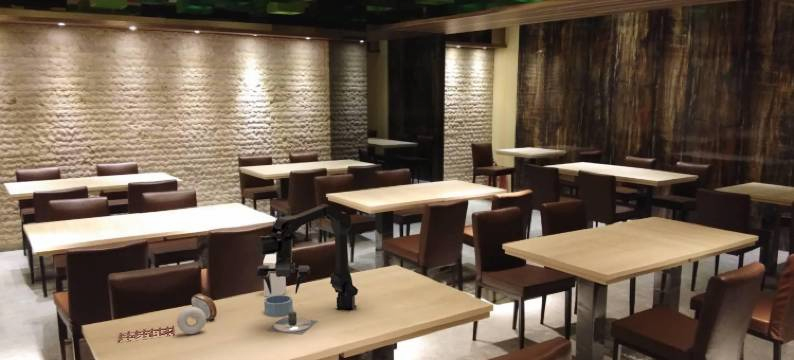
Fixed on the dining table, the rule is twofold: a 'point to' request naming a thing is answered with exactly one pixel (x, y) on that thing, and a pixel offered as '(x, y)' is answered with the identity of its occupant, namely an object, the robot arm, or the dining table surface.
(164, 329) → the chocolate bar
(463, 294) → the dining table surface
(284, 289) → the milk carton
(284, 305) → the blue bowl
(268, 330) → the mat
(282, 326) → the lid
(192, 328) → the donut
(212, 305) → the tin
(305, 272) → the robot arm
